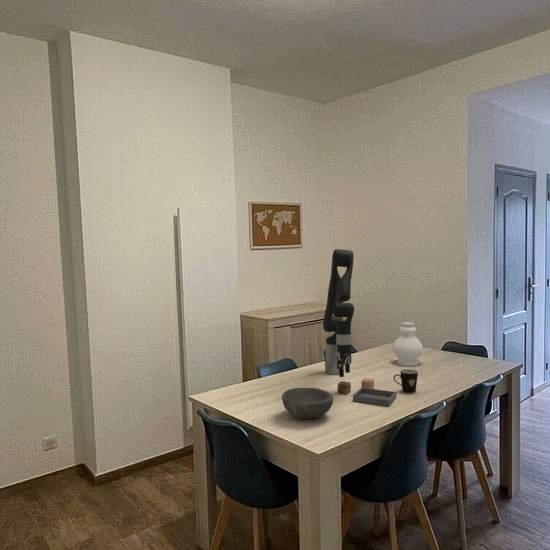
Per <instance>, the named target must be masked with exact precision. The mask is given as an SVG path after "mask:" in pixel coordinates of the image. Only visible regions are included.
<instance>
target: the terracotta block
mask: <svg viewBox="0 0 550 550" xmlns="http://www.w3.org/2000/svg"><path fill="white" fill-rule="evenodd" d="M360 384H361V388H370V389H375V379H373V378H367V377H364V378H363V379H362V380H361V383H360ZM361 388H360V389H361Z"/></svg>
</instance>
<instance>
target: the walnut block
mask: <svg viewBox="0 0 550 550" xmlns="http://www.w3.org/2000/svg"><path fill="white" fill-rule="evenodd" d="M351 388H352V387H351V382H349V381H344V380H343V381H339V382H338V383H337V394H338V395H346V396H347V395H349V394H350V393H351Z"/></svg>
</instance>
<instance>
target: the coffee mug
mask: <svg viewBox="0 0 550 550" xmlns="http://www.w3.org/2000/svg"><path fill="white" fill-rule="evenodd" d="M418 374H419V371H418V370H417V369H413V368H412V369H411V368H404V369H400V374H398V373H397V374H395V375H393V380H394V382H395V383H396V384H398V385H400V386H401V388H402V392H404V393H406V394H412V393H416V391H417V386H418V385H417V384H418V383H417V382H418V377H419V375H418ZM398 376H399V377H400V381H401V383H400V382H398V381H397V380H396V377H398Z"/></svg>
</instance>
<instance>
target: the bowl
mask: <svg viewBox="0 0 550 550" xmlns="http://www.w3.org/2000/svg"><path fill="white" fill-rule="evenodd" d="M281 402H282V404H283V407H284V408H285V409H286V411H287V412H288V413H289V414H290V415H292V416H294V417H295V418H299V419H312V418H313V419H314V418H318V417H321V416H323V415H325V414H326V413H328V412H329V411H330V409H331V408H332V406H333V404H334V396H333V394H332V393H331V392H329V391H327V390H325V389H320V388H315V387H295V388H290V389H287V390H285V391H284V392H282V394H281Z"/></svg>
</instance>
